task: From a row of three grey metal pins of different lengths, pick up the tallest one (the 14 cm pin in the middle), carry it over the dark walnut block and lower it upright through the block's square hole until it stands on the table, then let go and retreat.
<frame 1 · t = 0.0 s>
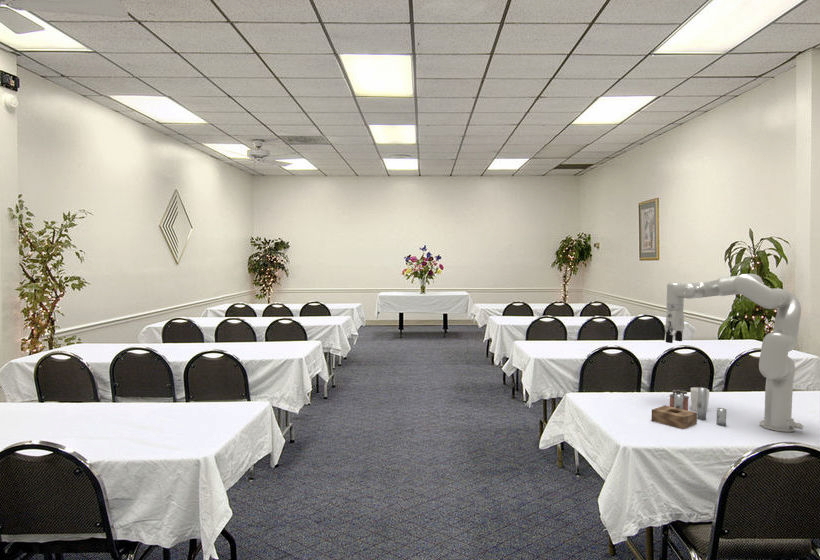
hand: (673, 341, 257), 31 cm above the table, fingers open, 9 cm apart
silver copper upright piece: (678, 411, 246), on the table
socket block: (673, 422, 229), on the table
short pin: (721, 424, 226), on the table
white cup: (699, 410, 248), on the table
long pin: (701, 418, 234), on the table
medium pin: (678, 416, 237), on the table
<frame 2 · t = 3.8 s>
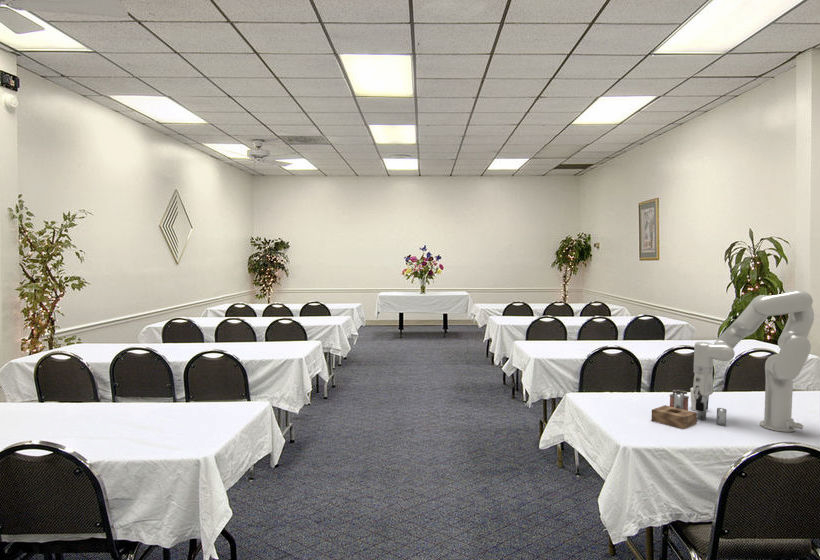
hand: (701, 409, 234), 4 cm above the table, fingers closed on long pin, 3 cm apart
long pin: (701, 418, 234), on the table, touching gripper
everything else where it was.
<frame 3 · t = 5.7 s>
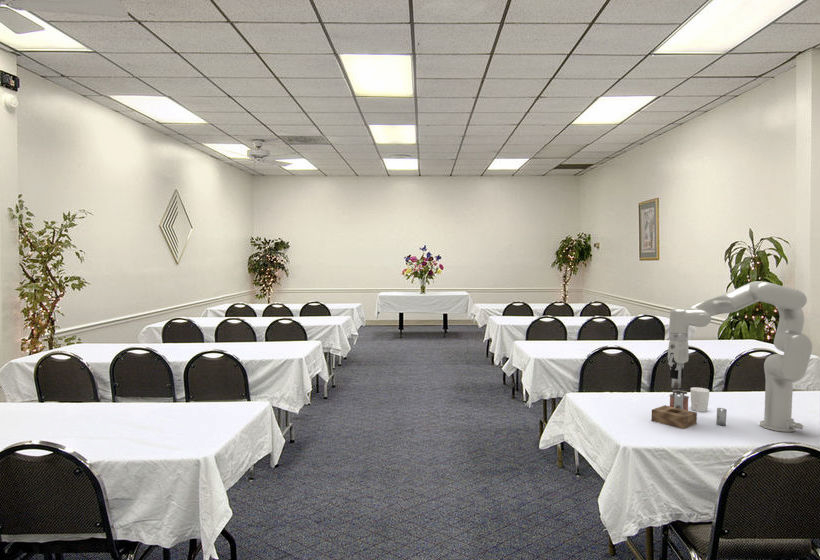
hand: (676, 377, 228), 20 cm above the table, fingers closed on long pin, 3 cm apart
long pin: (675, 387, 229), point 16 cm above the table, touching gripper
everything else where it was.
when the fingers open (7 cm above the table, at t = 7.7 s): long pin drops 2 cm, resting in socket block.
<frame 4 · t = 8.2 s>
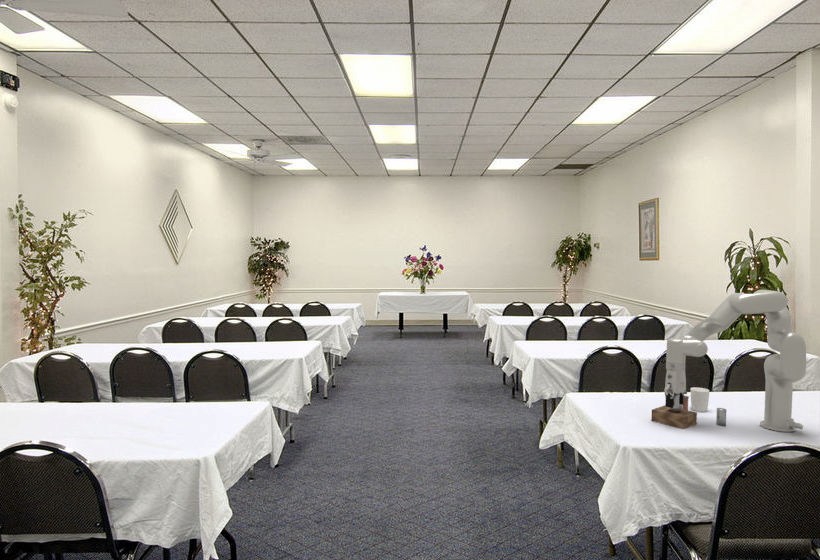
hand: (674, 405, 228), 8 cm above the table, fingers open, 8 cm apart
long pin: (673, 422, 229), resting in socket block
everything else where it was.
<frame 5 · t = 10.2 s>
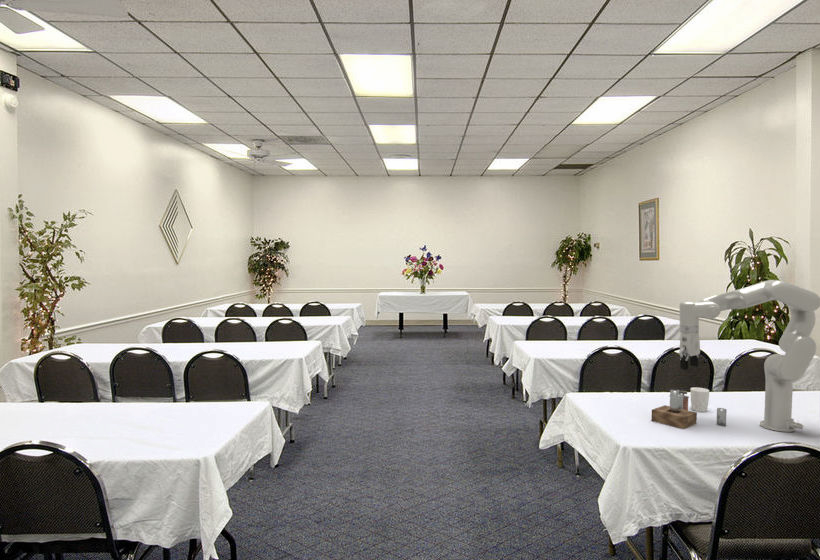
hand: (689, 367, 230), 24 cm above the table, fingers open, 9 cm apart
nothing on the table moved.
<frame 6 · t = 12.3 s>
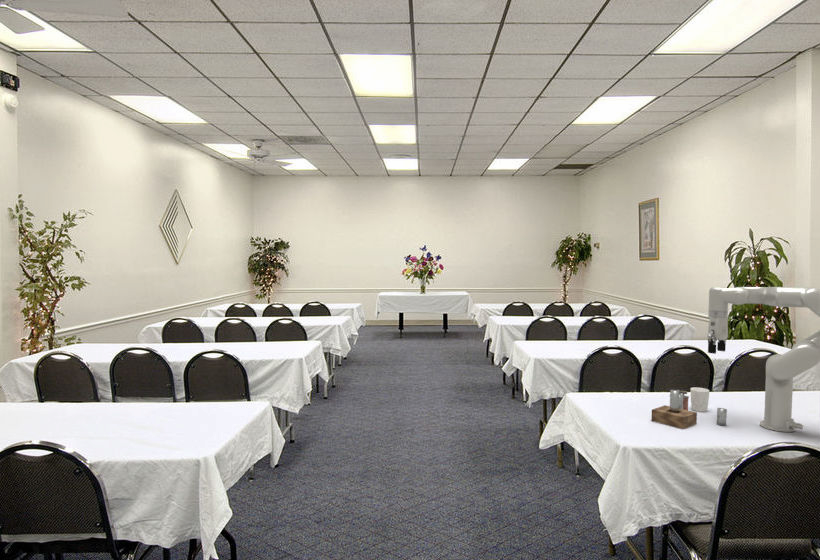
hand: (716, 352, 234), 30 cm above the table, fingers open, 9 cm apart
nothing on the table moved.
at the end: long pin 0.1 cm off-centre on the socket block, point 0.0 cm above the socket block's base; long pin tilted 0°; the gripper is holding nothing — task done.
